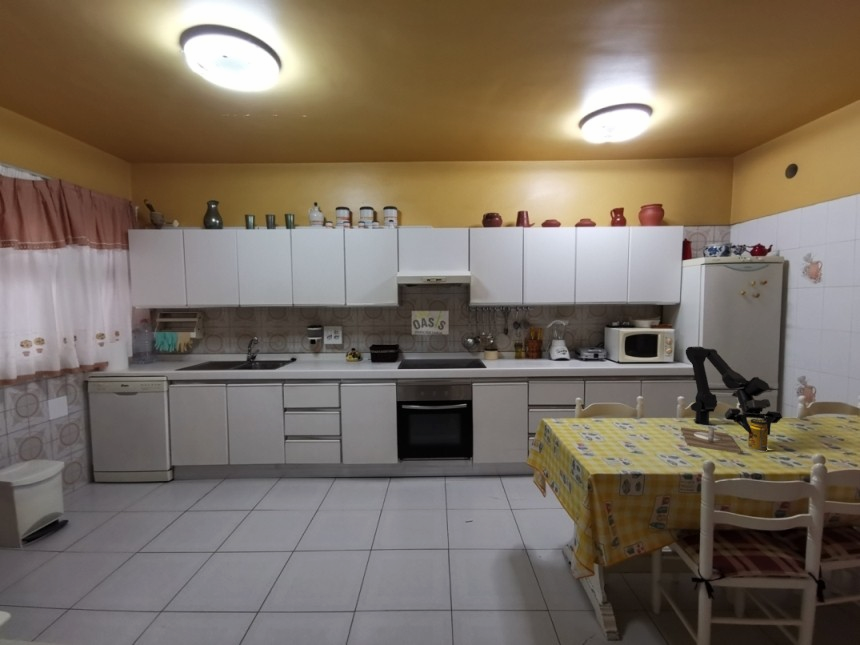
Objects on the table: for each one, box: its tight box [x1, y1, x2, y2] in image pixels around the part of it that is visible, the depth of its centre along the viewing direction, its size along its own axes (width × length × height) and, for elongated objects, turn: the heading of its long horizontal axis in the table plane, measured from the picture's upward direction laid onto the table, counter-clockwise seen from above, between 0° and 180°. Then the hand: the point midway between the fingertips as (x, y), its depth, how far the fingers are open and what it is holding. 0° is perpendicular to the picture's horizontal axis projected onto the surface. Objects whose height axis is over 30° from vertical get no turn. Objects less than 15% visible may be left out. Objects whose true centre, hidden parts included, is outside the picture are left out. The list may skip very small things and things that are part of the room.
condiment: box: [742, 418, 775, 453], centre depth 157 cm, size 7×8×12 cm
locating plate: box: [680, 427, 741, 454], centre depth 167 cm, size 22×18×7 cm
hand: (759, 433), depth 156 cm, fingers open, 6 cm apart
